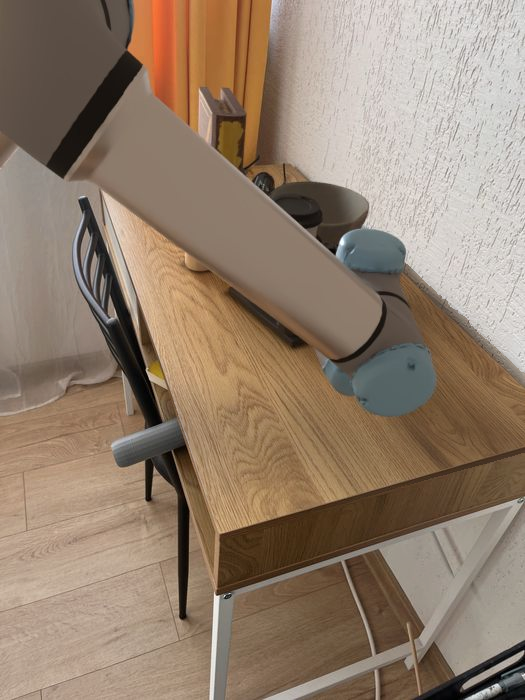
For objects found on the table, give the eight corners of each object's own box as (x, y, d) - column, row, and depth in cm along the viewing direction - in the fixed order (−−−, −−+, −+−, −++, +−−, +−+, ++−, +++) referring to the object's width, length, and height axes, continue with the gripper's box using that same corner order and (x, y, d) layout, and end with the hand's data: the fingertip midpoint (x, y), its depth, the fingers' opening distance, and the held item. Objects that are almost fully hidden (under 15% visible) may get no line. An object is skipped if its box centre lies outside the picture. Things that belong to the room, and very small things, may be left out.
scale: (227, 293, 95) (228, 279, 93) (286, 273, 102) (288, 259, 100) (291, 347, 85) (294, 332, 83) (352, 320, 92) (356, 306, 90)
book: (244, 241, 111) (254, 116, 95) (204, 242, 109) (207, 115, 93) (226, 197, 127) (232, 84, 111) (190, 197, 125) (191, 82, 109)
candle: (186, 256, 104) (186, 208, 97) (214, 258, 104) (216, 210, 98) (183, 270, 100) (183, 221, 93) (212, 272, 100) (214, 224, 94)
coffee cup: (314, 276, 95) (328, 197, 86) (306, 304, 88) (320, 221, 79) (263, 266, 96) (272, 187, 87) (251, 292, 89) (259, 210, 80)
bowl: (290, 212, 123) (295, 170, 117) (371, 238, 117) (382, 195, 111) (247, 246, 109) (251, 200, 103) (338, 277, 103) (348, 230, 96)
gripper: (248, 331, 74) (222, 251, 91) (385, 322, 79) (336, 247, 96) (252, 286, 69) (224, 210, 86) (398, 279, 74) (343, 209, 91)
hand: (282, 230), depth 91 cm, fingers closed on coffee cup, 8 cm apart
